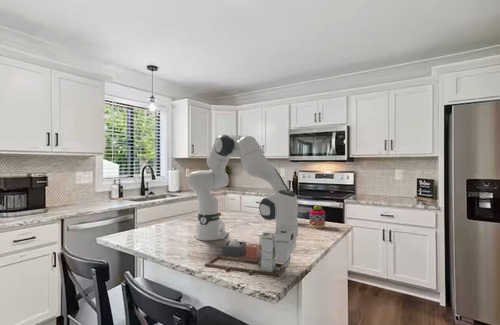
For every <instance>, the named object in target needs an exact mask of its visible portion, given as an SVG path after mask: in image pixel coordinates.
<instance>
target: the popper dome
mask: <svg viewBox="0 0 500 325" xmlns="http://www.w3.org/2000/svg"><path fill="white" fill-rule="evenodd" d="M228 246H237V247H238V246H240V243H239V240H238V239H235V238H233V239H231V240H230V242H229V244H228Z"/></svg>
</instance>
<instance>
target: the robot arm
mask: <svg viewBox="0 0 500 325" xmlns="http://www.w3.org/2000/svg"><path fill="white" fill-rule="evenodd" d="M261 147H262V146H260V144H259V142H258V141H257V139H256V138H255V137H254V136H252V135H246V136H245V135H240V134H238V135H237V134H222V135H219V136H217V137H216V138H215V140H214V144H213V146H212V148H211V149H210V152H209V154H208V157H207V158H206V165H207V167H208V169H207V170H204V169H203V170H195V171H191V172H190V173H188V175H187V178H186V184H187V186H188V187H189V189H191V190H192V191H193V192H194V194H195V195H196V199H197V202H198V213H197V221H196V224H195V225H196V226H195V233H194V234H193V237H195V239H196V240H199V241H215V240H216V241H217V240H224V238H225V237H227V235H228V234H229V231H228V230H227V229H226V225H225V223H224V222H223V221H222V220H221V218H220V216H221V215H222V212H219V200H218V198H217V197H216V196H215V195H212V194H211V190H214V189H215V190H216V189H217V190H218V189H222V188H225V187H227V186H228V184H229V180H230V178H229V175H228V173H227V172H226V167H227V165H228V163H229V160H230V159H231V158H239V159H240V162H241V164H242V167H243V169H244V171H245V172H246V173H247V174H248V175H249V176H252V177H255V178H258V179H261V180H264V181H265V182H267V183H269V184H270V186H271V187H272V189H273V190H274V192H275V194H273V195H271V196H268V197H265V198H263V199H261V200H260V202H259V207H258V210H259V211H258V212H259V214H260V216H261V218H263V219H264V220H266V221H275V232H274V240H276V242H275V252H276V262H277V263H283V264H284V268H289V266H290V265H291V255H292V254H293V253H294V251H295V249H296V247H297V238H298V237H299V222H298V214H299V207H300V206H299V201H298V198H297V197H298V196H297V194H296V193H295V192H294V191H291V190H289V188H288V186H287V185H286V183H285V181H284V178H282V176H281V175H280V173H279V172H278V170H277V169H276V167H274V165H272V164H271V162H270V161H269V160H268V159H267V158H266V156H265V154H264V151H263V149H262V148H261Z"/></svg>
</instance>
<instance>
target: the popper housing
mask: <svg viewBox="0 0 500 325" xmlns="http://www.w3.org/2000/svg"><path fill="white" fill-rule="evenodd" d="M230 241H231V240H228V241H227V242H225V243H224V244H221V256H225V257H233V258H239V257H242V256H243V255H244V254H246V246H247V242H246V241H239V240H238V241H239V243H240V246H238V247H237V246H228V244H229V242H230Z"/></svg>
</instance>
